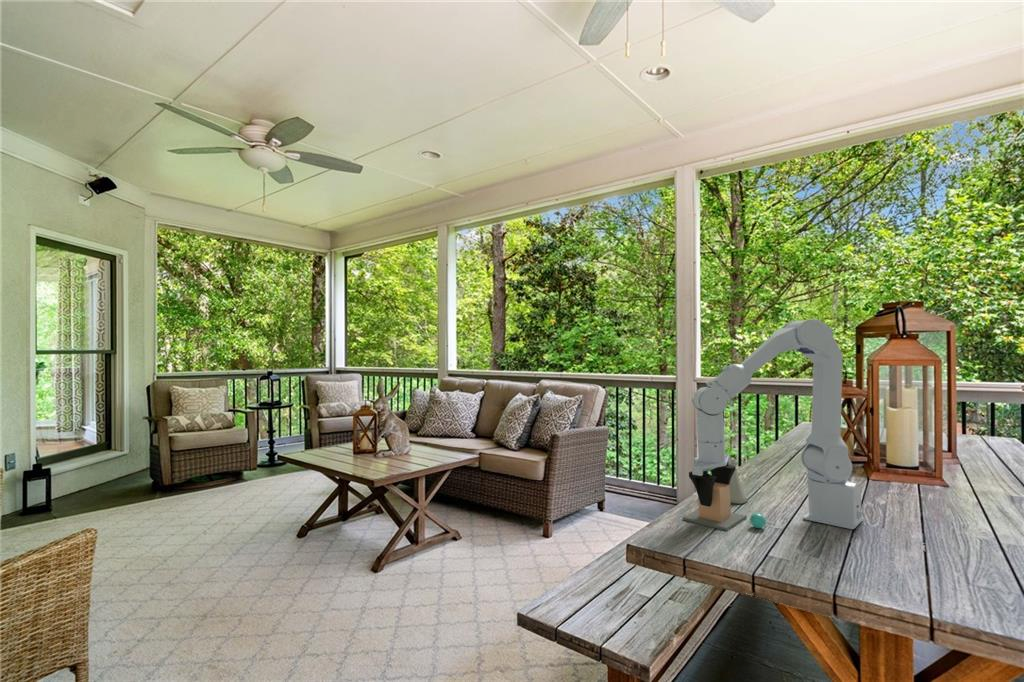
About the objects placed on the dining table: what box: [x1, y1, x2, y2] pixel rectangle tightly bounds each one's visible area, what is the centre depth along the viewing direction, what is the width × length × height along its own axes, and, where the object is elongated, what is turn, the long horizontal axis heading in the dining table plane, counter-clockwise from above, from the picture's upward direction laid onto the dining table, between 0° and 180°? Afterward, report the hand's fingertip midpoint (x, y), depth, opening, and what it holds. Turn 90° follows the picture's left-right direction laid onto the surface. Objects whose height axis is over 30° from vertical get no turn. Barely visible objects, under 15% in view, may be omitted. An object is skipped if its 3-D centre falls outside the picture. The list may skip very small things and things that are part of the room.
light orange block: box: [697, 482, 732, 522], centre depth 109 cm, size 5×5×7 cm
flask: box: [728, 458, 749, 505], centre depth 122 cm, size 7×7×10 cm
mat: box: [682, 508, 748, 532], centre depth 109 cm, size 10×10×1 cm
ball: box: [749, 512, 767, 529], centre depth 103 cm, size 3×3×3 cm
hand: (713, 501), depth 109 cm, fingers open, 7 cm apart
